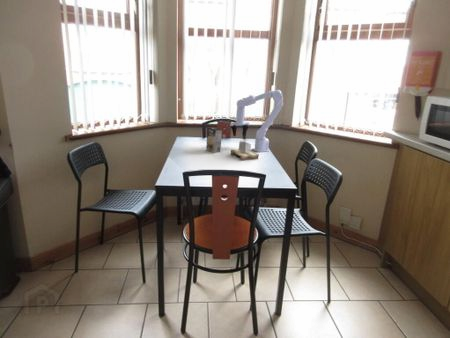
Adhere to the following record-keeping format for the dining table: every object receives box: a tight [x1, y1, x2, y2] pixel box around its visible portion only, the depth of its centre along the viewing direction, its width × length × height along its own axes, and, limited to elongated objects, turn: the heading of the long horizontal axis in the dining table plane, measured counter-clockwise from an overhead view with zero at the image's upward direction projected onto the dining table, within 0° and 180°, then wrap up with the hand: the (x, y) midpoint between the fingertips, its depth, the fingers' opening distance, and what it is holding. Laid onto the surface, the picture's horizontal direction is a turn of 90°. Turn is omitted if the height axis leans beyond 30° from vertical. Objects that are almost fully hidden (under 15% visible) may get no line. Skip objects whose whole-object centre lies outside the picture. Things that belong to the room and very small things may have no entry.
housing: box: [238, 140, 252, 154], centre depth 206 cm, size 4×8×7 cm, turn 28°
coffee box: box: [205, 126, 223, 154], centre depth 214 cm, size 9×6×16 cm
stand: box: [230, 148, 260, 161], centre depth 207 cm, size 12×16×3 cm
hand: (239, 135), depth 225 cm, fingers open, 7 cm apart
